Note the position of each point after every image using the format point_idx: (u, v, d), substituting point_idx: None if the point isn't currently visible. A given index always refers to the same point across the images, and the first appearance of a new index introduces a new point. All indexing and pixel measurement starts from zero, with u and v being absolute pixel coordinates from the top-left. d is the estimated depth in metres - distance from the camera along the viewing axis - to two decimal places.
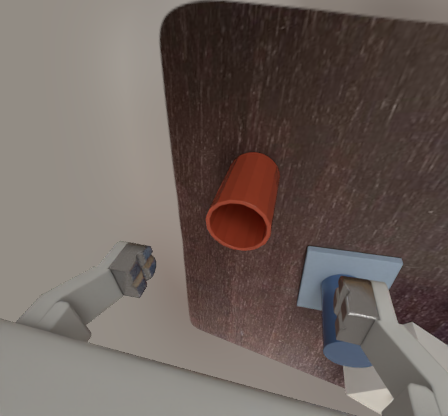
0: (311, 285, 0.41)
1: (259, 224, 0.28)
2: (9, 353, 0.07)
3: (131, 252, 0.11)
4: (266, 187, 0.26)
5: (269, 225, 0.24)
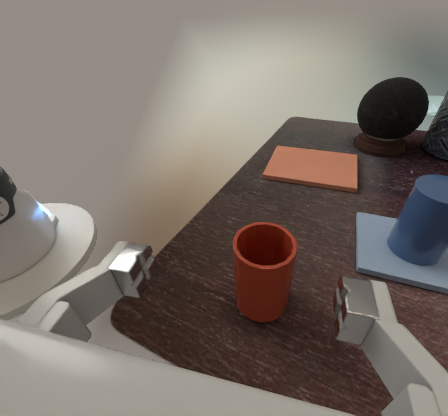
0: (425, 274, 0.32)
1: (286, 257, 0.29)
2: (9, 353, 0.07)
3: (131, 252, 0.11)
4: None
5: (265, 222, 0.28)
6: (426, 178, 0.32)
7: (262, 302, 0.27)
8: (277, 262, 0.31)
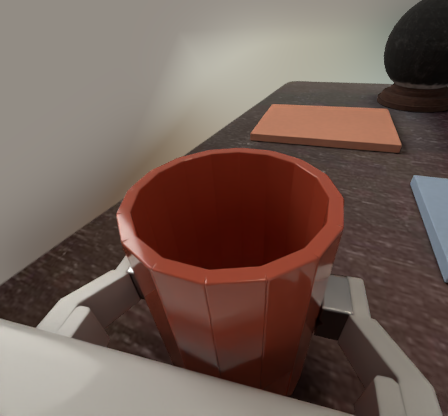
0: None
1: (299, 247, 0.10)
2: (9, 353, 0.07)
3: None
4: None
5: (237, 148, 0.10)
6: None
7: None
8: None
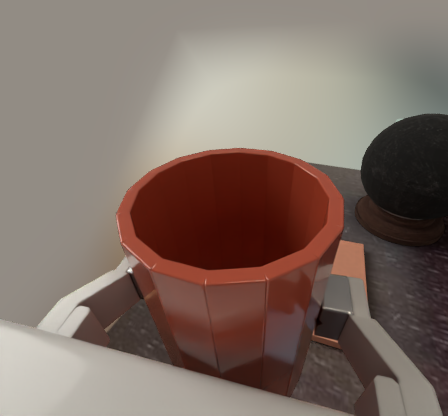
0: None
1: (299, 247, 0.10)
2: (9, 353, 0.07)
3: None
4: None
5: (237, 148, 0.10)
6: None
7: None
8: None
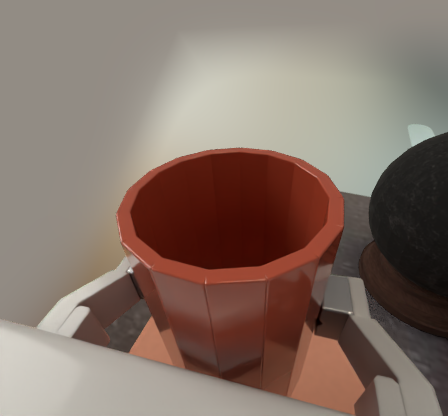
0: None
1: (299, 247, 0.10)
2: (9, 353, 0.07)
3: None
4: None
5: (237, 148, 0.10)
6: None
7: None
8: None
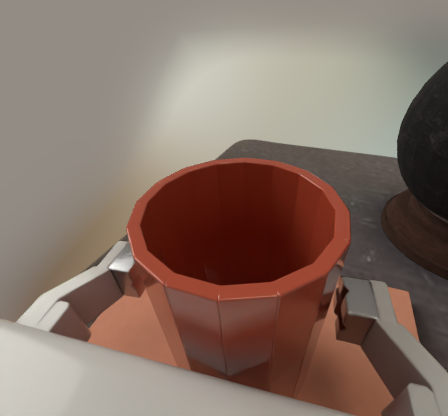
0: None
1: (304, 255, 0.10)
2: (9, 353, 0.07)
3: (131, 252, 0.11)
4: None
5: (242, 158, 0.10)
6: None
7: None
8: (278, 269, 0.13)
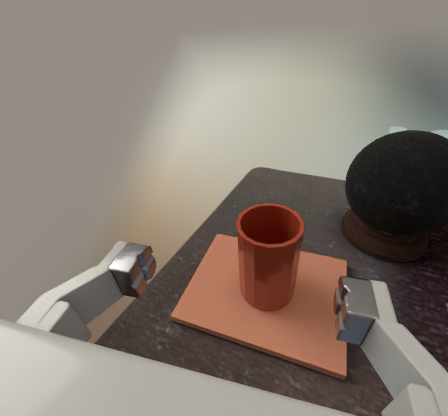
0: None
1: None
2: (9, 353, 0.07)
3: (131, 252, 0.11)
4: None
5: (269, 203, 0.27)
6: None
7: (269, 287, 0.25)
8: None
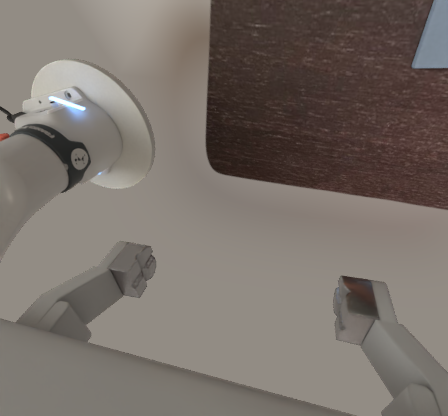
0: None
1: None
2: (9, 353, 0.07)
3: (131, 252, 0.11)
4: None
5: None
6: None
7: None
8: None
